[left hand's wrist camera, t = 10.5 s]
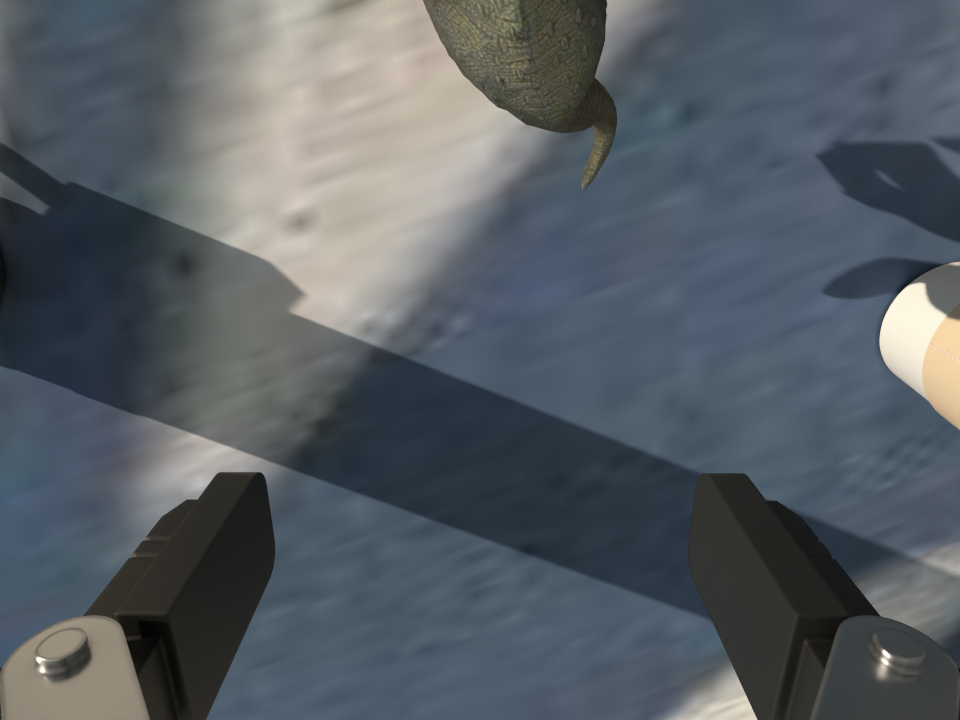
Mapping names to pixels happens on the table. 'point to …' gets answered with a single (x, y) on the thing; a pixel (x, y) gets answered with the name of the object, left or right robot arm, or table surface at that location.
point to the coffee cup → (927, 338)
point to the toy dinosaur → (535, 62)
